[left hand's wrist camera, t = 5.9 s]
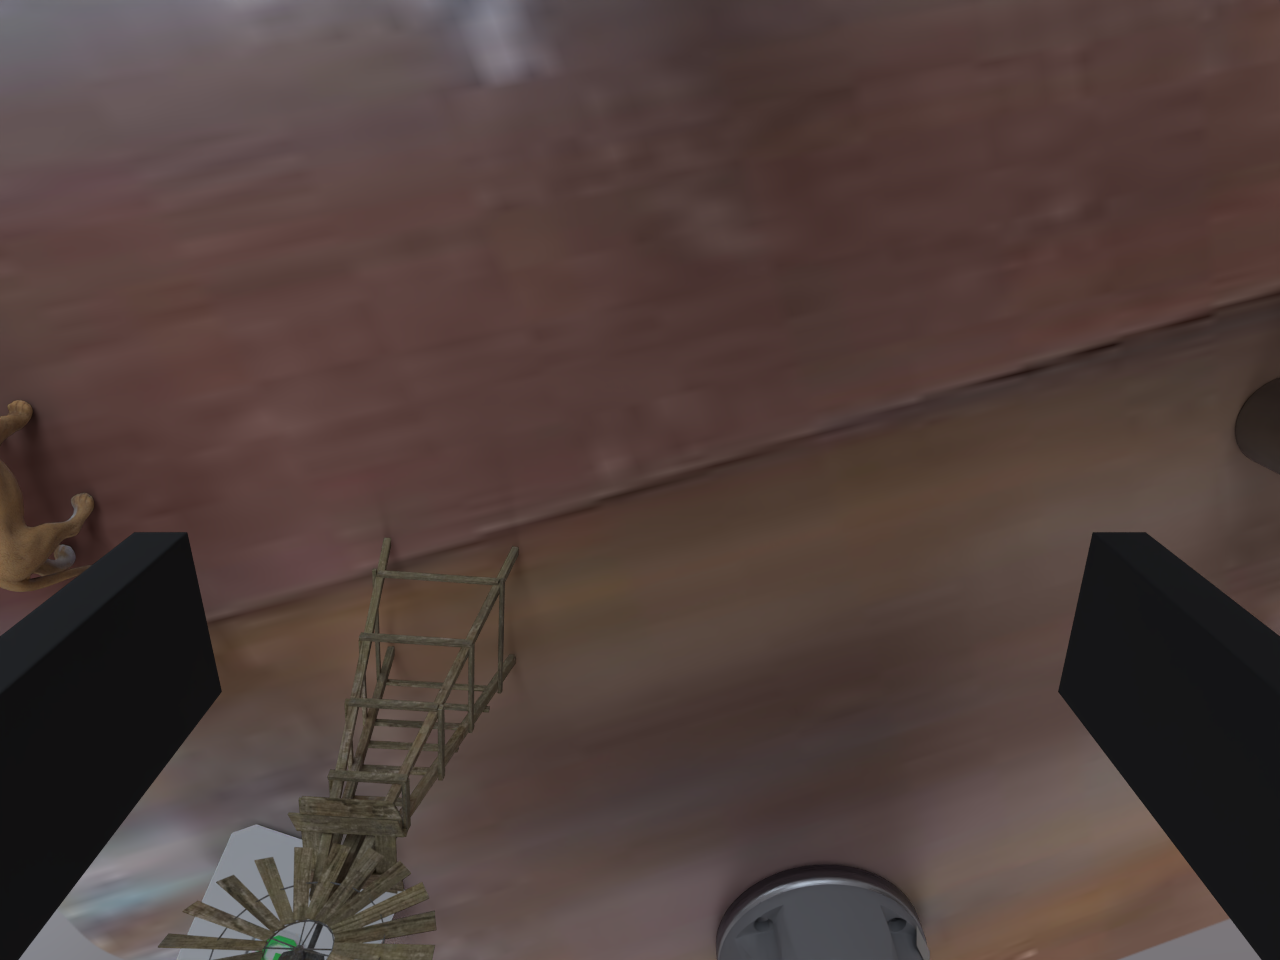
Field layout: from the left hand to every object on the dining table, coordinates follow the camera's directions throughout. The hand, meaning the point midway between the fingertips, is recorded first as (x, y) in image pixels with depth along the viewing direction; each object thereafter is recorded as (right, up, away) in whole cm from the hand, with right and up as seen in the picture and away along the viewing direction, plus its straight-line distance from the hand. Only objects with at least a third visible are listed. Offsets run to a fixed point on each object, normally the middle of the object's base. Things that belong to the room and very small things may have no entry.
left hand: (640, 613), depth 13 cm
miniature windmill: (-12, -6, +41) cm, 43 cm away
